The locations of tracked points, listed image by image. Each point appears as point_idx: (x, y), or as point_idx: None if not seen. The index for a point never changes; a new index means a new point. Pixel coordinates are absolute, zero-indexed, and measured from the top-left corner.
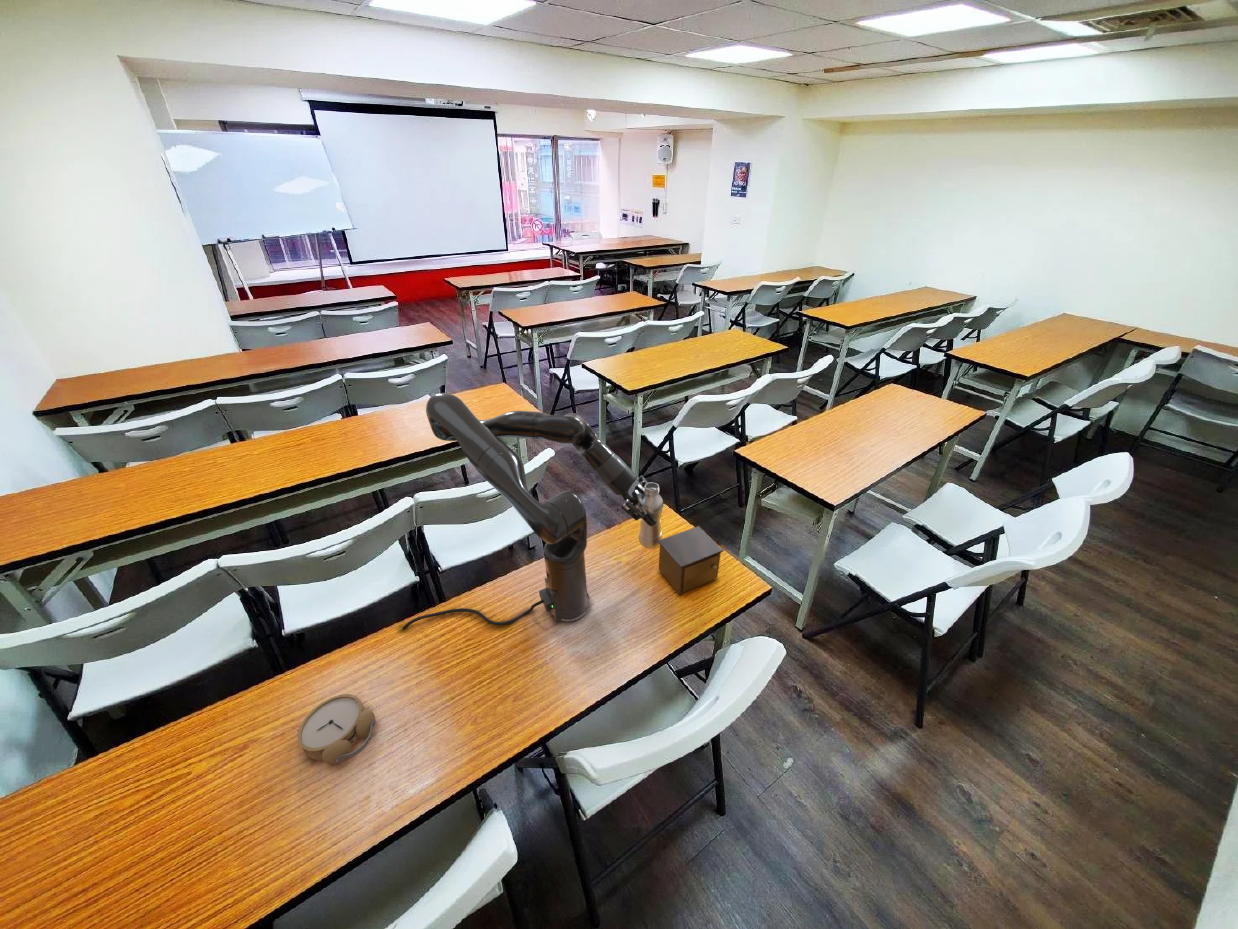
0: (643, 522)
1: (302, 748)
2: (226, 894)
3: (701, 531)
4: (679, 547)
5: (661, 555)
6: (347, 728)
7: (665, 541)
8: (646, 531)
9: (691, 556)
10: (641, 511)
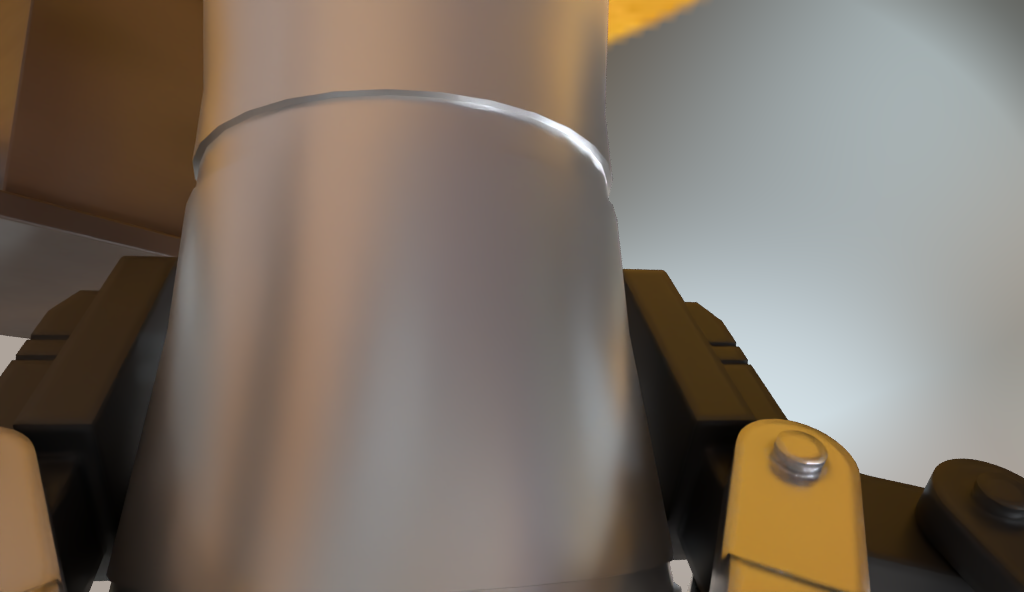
0: (215, 153)
1: None
2: None
3: None
4: (68, 296)
5: (6, 34)
6: None
7: (52, 248)
8: (203, 6)
9: (25, 326)
10: (145, 522)
